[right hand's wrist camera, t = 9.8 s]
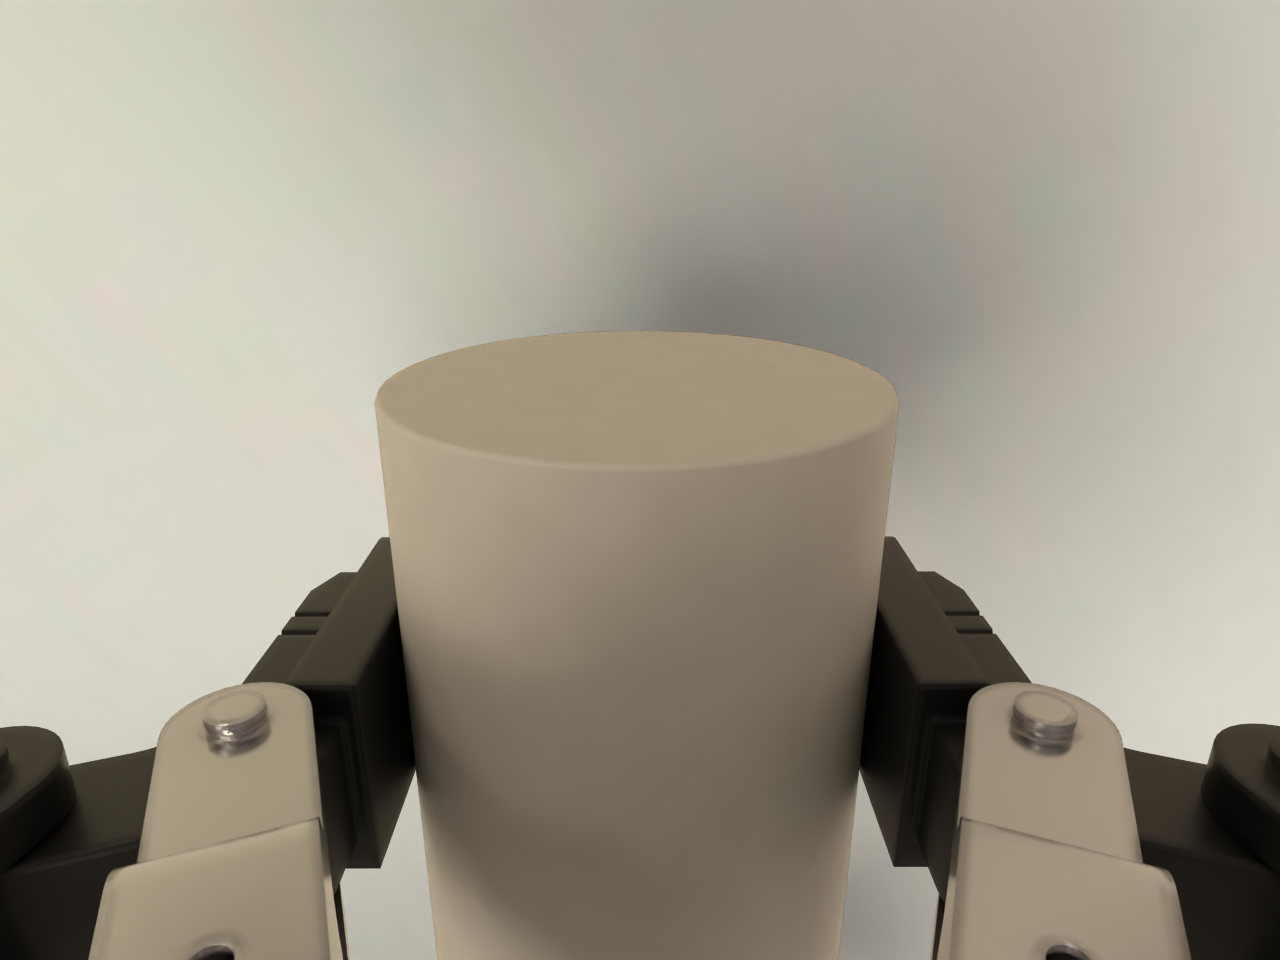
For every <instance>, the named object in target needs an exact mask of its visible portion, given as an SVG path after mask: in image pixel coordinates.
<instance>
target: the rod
mask: <svg viewBox="0 0 1280 960" xmlns="http://www.w3.org/2000/svg"><path fill="white" fill-rule="evenodd" d="M898 410H899V400H898V397H897V393H896V390H895V388H894V387H893V386H892V385H891V383H890V382H889V381H888V380H887V379H885V378H884V377H883V376H881V375H880V374H879V373H877V372H875V371H873V370H872V369H870V368H868V367H866V366H864V365H861V364H859V363H856V362H854V361H851V360H849V359H846V358H844V357H840V356H837V355H834V354H831V353H828V352H824V351H820V350H816V349H812V348H808V347H804V346H799V345H794V344H789V343H784V342H777V341H771V340H765V339H758V338H750V337H742V336H732V335H722V334H710V333H694V332H672V331H604V332H582V333H566V334H554V335H544V336H534V337H526V338H518V339H511V340H505V341H498V342H492V343H487V344H482V345H477V346H472V347H467V348H463V349H459V350H455V351H451V352H448V353H444V354H441V355H438V356H435V357H431V358H429V359H426V360H424V361H421V362H419V363H416V364H414V365H411V366H409V367H407V368H405V369H403V370H401V371H399V372H398V373H396V374H395V375H393V376H392V377H390V378H389V379H388V380H386V381H385V383H384V384H383V385H382V386H381V387H380V388H379V391H378V394H377V397H376V400H375V411H376V419H377V428H378V437H379V446H380V455H381V464H382V473H383V482H384V490H385V499H386V508H387V517H388V526H389V535H390V544H391V552H392V561H393V570H394V579H395V588H396V597H397V606H398V615H399V623H400V632H401V641H402V650H403V659H404V668H405V677H406V685H407V694H408V703H409V712H410V721H411V730H412V739H413V748H414V756H415V765H416V774H417V783H418V792H419V801H420V810H421V818H422V827H423V836H424V845H425V854H426V863H427V872H428V880H429V889H430V898H431V907H432V916H433V925H434V934H435V943H436V951H437V960H838V958H839V949H840V940H841V931H842V922H843V912H844V903H845V894H846V885H847V876H848V867H849V858H850V848H851V839H852V830H853V821H854V812H855V803H856V794H857V784H858V775H859V766H860V757H861V748H862V739H863V730H864V721H865V711H866V702H867V693H868V684H869V675H870V666H871V657H872V647H873V638H874V629H875V620H876V611H877V602H878V593H879V583H880V574H881V565H882V556H883V547H884V538H885V529H886V519H887V510H888V501H889V492H890V483H891V474H892V465H893V455H894V446H895V437H896V428H897V419H898Z"/></svg>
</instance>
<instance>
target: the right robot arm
mask: <svg viewBox="0 0 1280 960" xmlns="http://www.w3.org/2000/svg"><path fill="white" fill-rule="evenodd" d="M992 630H993V629H992V628H991V627H990V625H989V624H988V623H987V621H986V620H985V618H984V617H983V616H980V615H979V610H978V609H977V608H976V606H975V605H974V603H973V602H972V601H971V599H970V598H969V597H968V595H967V594H966V593H965V591H964V590H963V589H961V588H960V587H958V586H956V585H955V584H953V583H952V582H950V581H949V580H947V579H945V578H944V577H942V576H941V575H939V574H938V573H936V572H917V570H916V569H915V567H914V566H913V564H912V562H911V561H910V559H909V558H908V556H907V555H906V553H905V552H904V550H903V549H902V547H901V546H900V544H899V543H898V541H897V540H896V538H895V537H885V538H884V547H883V556H882V565H881V574H880V583H879V593H878V602H877V611H876V620H875V629H874V638H873V647H872V657H871V666H870V675H869V684H868V693H867V702H866V711H865V721H864V730H863V739H862V748H861V757H860V766H859V770H860V772H861V775H862V778H863V781H864V784H865V787H866V789H867V792H868V795H869V798H870V801H871V804H872V806H873V809H874V812H875V815H876V818H877V821H878V824H879V826H880V829H881V832H882V835H883V838H884V841H885V843H886V846H887V849H888V852H889V855H890V858H891V860H892V863H893V866H894V867H928V868H929V870H930V873H931V875H932V878H933V880H934V883H935V885H936V888H937V890H938V892H939V893H938V900H937V906H936V912H935V920H934V929H933V938H932V947H931V956H930V960H1280V726H1275V725H1267V724H1240V725H1235V726H1231V727H1228V728H1226V729H1224V730H1222V731H1221V732H1220V733H1219V734H1217V736H1216V738H1215V740H1214V743H1213V746H1212V750H1211V753H1210V757H1209V760H1208V764H1207V765H1205V764H1200V763H1195V762H1190V761H1185V760H1180V759H1175V758H1170V757H1165V756H1160V755H1154V754H1149V753H1144V752H1140V751H1135V750H1131V749H1127V748H1123V743H1122V738H1121V735H1120V732H1119V730H1118V729H1117V727H1116V726H1115V724H1114V723H1113V722H1112V721H1111V720H1110V718H1109V717H1108V716H1106V715H1105V714H1104V713H1103V712H1102V711H1100V710H1099V709H1098V708H1096V707H1095V706H1093V705H1092V704H1090V703H1089V702H1087V701H1085V700H1083V699H1081V698H1079V697H1077V696H1075V695H1072V694H1070V693H1067V692H1065V691H1062V690H1059V689H1056V688H1052V687H1048V686H1044V685H1039V684H1032V683H1031V681H1030V680H1029V679H1028V677H1027V676H1026V674H1025V673H1024V672H1023V670H1022V669H1021V668H1020V666H1019V665H1018V663H1017V662H1016V661H1015V659H1014V658H1013V657H1012V655H1011V654H1010V653H1009V651H1008V650H1007V648H1006V647H1005V646H1004V644H1003V643H1002V642H1001V640H1000V639H999V638H998V636H997V635H996V634H993V632H992ZM415 770H416V765H415V756H414V748H413V739H412V730H411V721H410V712H409V703H408V694H407V685H406V677H405V668H404V659H403V650H402V641H401V632H400V623H399V615H398V606H397V597H396V588H395V579H394V570H393V561H392V552H391V544H390V537H382V538H380V539H379V541H378V542H377V544H376V545H375V547H374V548H373V550H372V551H371V553H370V554H369V556H368V557H367V559H366V560H365V562H364V563H363V565H362V566H361V568H360V569H359V571H358V572H340V573H339V574H337V575H336V576H334V577H332V578H331V579H329V580H328V581H326V582H325V583H323V584H321V585H320V586H318V587H317V588H315V589H313V590H312V591H311V592H310V593H309V594H308V596H307V597H306V599H305V600H304V601H303V603H302V604H301V605H300V607H299V608H298V609H297V611H296V612H295V617H291V619H290V620H289V621H288V623H287V624H286V625H285V627H284V628H283V629H282V635H278V636H277V638H276V639H275V640H274V642H273V643H272V644H271V646H270V647H269V648H268V650H267V651H266V652H265V654H264V655H263V656H262V658H261V659H260V660H259V662H258V663H257V664H256V666H255V667H254V669H253V670H252V671H251V673H250V674H249V675H248V677H247V678H246V679H245V681H244V682H243V683H242V684H241V685H236V686H232V687H228V688H224V689H221V690H218V691H215V692H213V693H210V694H208V695H205V696H203V697H201V698H199V699H197V700H195V701H193V702H191V703H190V704H188V705H187V706H185V707H184V708H182V709H181V710H180V711H178V712H177V713H176V714H175V715H174V716H172V717H171V718H170V720H169V721H168V722H167V723H166V724H165V726H164V727H163V729H162V730H161V732H160V735H159V738H158V743H157V747H154V748H151V749H148V750H144V751H140V752H136V753H131V754H126V755H121V756H116V757H111V758H106V759H101V760H96V761H91V762H86V763H81V764H76V765H71V766H69V764H68V760H67V757H66V753H65V750H64V746H63V743H62V741H61V739H60V737H59V736H58V735H56V734H55V733H54V732H52V731H50V730H48V729H44V728H40V727H32V726H13V727H5V728H0V960H350V956H349V947H348V938H347V929H346V920H345V912H344V906H343V900H342V893H341V887H340V881H341V878H342V876H343V873H344V871H345V868H381V865H382V862H383V859H384V857H385V854H386V851H387V848H388V845H389V843H390V840H391V837H392V834H393V832H394V829H395V826H396V823H397V820H398V818H399V815H400V812H401V809H402V807H403V804H404V801H405V798H406V795H407V793H408V790H409V787H410V784H411V782H412V779H413V776H414V773H415Z"/></svg>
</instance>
